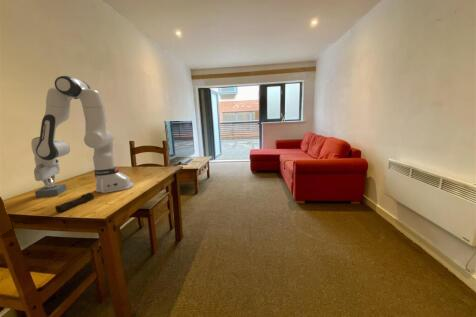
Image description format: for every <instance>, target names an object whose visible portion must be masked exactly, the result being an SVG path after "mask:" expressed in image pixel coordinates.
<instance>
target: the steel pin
mask: <svg viewBox="0 0 476 317" xmlns="http://www.w3.org/2000/svg"><path fill="white" fill-rule="evenodd" d="M47 179H48V180H47V181H48V182H49V185H47V187H48V189H51V188H54V185H55V184H54V182H53V180H52V178H51V177H49V178H47Z"/></svg>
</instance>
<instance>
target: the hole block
mask: <svg viewBox="0 0 476 317" xmlns="http://www.w3.org/2000/svg"><path fill="white" fill-rule="evenodd" d="M66 184H67V183H65V184H64V183H62V184H54V188H51V189H48V187H47V186H45V185H44V186H43V187H41V188H39V189H37V190H36V191H34V194H35V198H36V199H38V198H47V197H53V196H54V197H55V196H60V195H61V194H63V193H64V192H65V191H67V185H66Z"/></svg>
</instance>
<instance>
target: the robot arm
mask: <svg viewBox="0 0 476 317" xmlns="http://www.w3.org/2000/svg"><path fill="white" fill-rule="evenodd" d="M73 99H74V100H78V99H79V101H80V102H81V106H82V111H83V116H84V123H85V127H84V128H85V130H84V131H85V134H84V138H83V142H84V144H85V146H87V147H88V148H91V149H94V150H93V156H92V160H93V166H94V176H95V180H96V181H95V182H96V186H95V192H97V193H102V194H106V193H112V192H118V191H123V190H130V189H131V188H133V187H134V186H135V183H134V181H131V179H130V177H129V176H128V175H127V174H124V173H122V172H120V169H119V166H115V160H114V139H115V138H114V134H113V133H112V132H110V131H108V130H107V129H106V128H107V125H106V124H107V116H106V110H105V106H104V102H103V98H102V96H101V94H100V92H99V91H98V90H96V89H93V88H91V87H90V86H89V84H88V83H87V82H85V81H83V80H81V79H79V78H76V77H73V76H68V75H61V76H58V77H56V78H55V81H54V87H50V88H49V89H48V90H47V93H46V98H45V112H44V116H43V118H42V119H41V120H42V121H41V124H40V131H39V132H40V134H39V136H37V137H33V138H32V139H31V141H30V142H31V150H32V153H33V155H34V162H35V168H34V169H33V175H34V180H35V181H37V182H42V183H43V184H44V187H45V186H47V185H49V182H48V181H47V180H48V178H52V180H53V183H55V182H56V179H55V178H56V175H57V174H59V173H60V171H61V170H60V165H59V159H58V158H61V157H64V156H66V155H68V154H69V153H70V151H71V147H70V145H69V144H68V142H66V141H64V140H58V139H55V136H56V131H57V127H59V125H61V124H63V123H64V122H66V121H67V120H69V118H70V116H71V101H72V100H73Z"/></svg>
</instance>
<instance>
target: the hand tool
mask: <svg viewBox="0 0 476 317" xmlns="http://www.w3.org/2000/svg"><path fill="white" fill-rule="evenodd" d="M93 199H95V195H94V194H93V193H92V192H87V193H85V194H82V195H81V196H80V197H78V198H75V199H73V200H70V201H67V202H65V203H62V204H59V205H55V212H56V213H60V214H61V213H62V212H65V211H66V210H69V209H71V208H74V207H76V206H79V205H81V204H84V203H85V204H86V203H89V202H90V201H93Z"/></svg>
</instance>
